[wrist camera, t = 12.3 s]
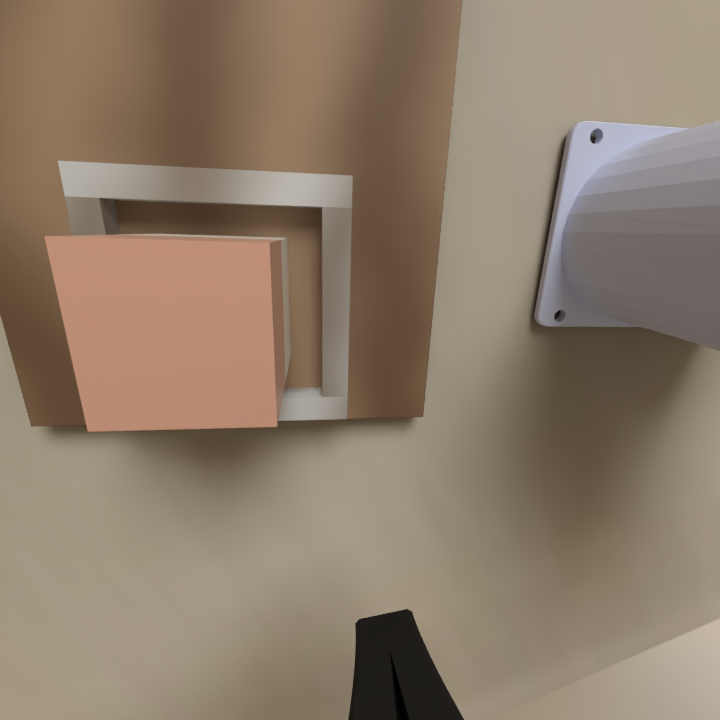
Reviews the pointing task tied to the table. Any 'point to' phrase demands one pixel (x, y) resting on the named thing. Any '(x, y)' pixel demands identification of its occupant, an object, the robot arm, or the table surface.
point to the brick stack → (175, 328)
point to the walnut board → (236, 171)
